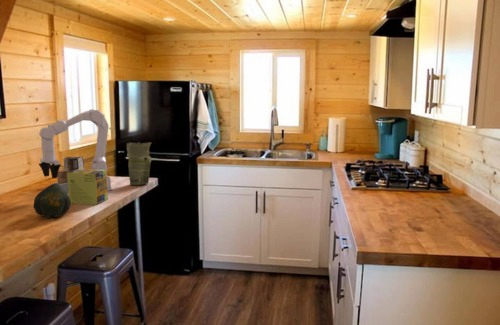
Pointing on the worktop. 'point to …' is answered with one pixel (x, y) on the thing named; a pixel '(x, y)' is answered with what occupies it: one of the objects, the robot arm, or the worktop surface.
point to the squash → (52, 201)
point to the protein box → (87, 186)
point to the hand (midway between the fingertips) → (50, 177)
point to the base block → (64, 186)
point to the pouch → (139, 163)
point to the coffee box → (73, 163)
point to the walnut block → (62, 176)
